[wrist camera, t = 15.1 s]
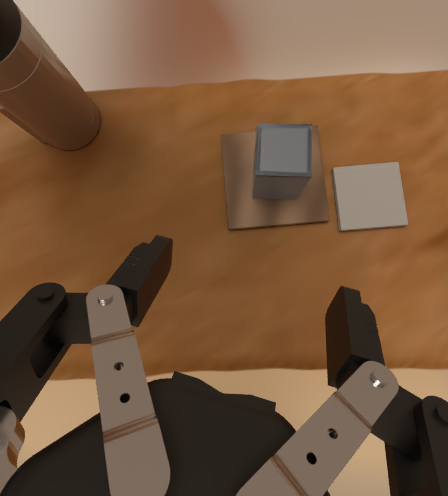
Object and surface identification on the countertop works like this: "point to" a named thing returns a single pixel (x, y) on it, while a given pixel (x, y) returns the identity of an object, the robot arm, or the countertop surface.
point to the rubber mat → (369, 196)
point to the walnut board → (268, 210)
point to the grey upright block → (281, 160)
